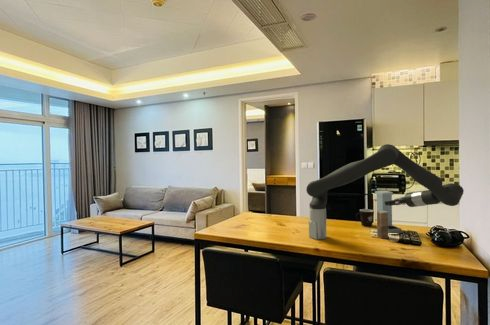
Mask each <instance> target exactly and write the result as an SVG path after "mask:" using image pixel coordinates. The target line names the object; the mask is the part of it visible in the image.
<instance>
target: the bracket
mask: <svg viewBox="0 0 490 325" xmlns="http://www.w3.org/2000/svg"><path fill="white" fill-rule="evenodd" d="M388 233H403V232H402V228H401V227H397V226H396V225H393V224H392V226H388Z"/></svg>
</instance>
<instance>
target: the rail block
mask: <svg viewBox="0 0 490 325" xmlns="http://www.w3.org/2000/svg"><path fill="white" fill-rule="evenodd" d="M376 232H377V233H376V236H377V237H378V238H380V239H388V238H389V234H388V212H387V211H384V210H379V211H377V210H376Z"/></svg>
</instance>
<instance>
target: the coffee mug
mask: <svg viewBox="0 0 490 325" xmlns="http://www.w3.org/2000/svg"><path fill="white" fill-rule="evenodd" d="M374 214H375V210H374V209H368V208H363V209H359V212H357V213H356V214H355V218H356V220H358V221H360V224H361V226H362V227H365V228H366V227H367V228H370V227H371V228H372V227H373V223H374ZM358 215H359V218H360V219H359V218H358Z"/></svg>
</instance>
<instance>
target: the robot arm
mask: <svg viewBox="0 0 490 325" xmlns="http://www.w3.org/2000/svg"><path fill="white" fill-rule="evenodd" d="M392 165H394V166H396V167H398V168H399V169H401V170H402V171H404V172H405V173H406V174H407V175H408V176H409V177H410V178H411V179H412V180H414V181H415V182H416V183H418V184H419V185H421V186H422V187H424V188H425V189H427V190H417V191H410V192H406V193H405V194H404V196H402V197H398V198H397V197H396V198H394V199H392V200H390V201H385V205H389V206H392V207H393V206H401V205H402V206H405V205H407V206H408V207H409V208H414V207H415V208H416V207H425V206H430V205H431V206H432V205H437V204H440V203H442V204H444V205H446V206H450V207H455V206H457V205H459V203H460V201H461V199H462V197H463V195H464V188H463V187H462V186H461V184H459V183H458V184H457V183H446V184H443V179H442V178H441V177H439V176H438V175H436V174H435V173H433V172H431V171H430V170H428V169H426V168H424V167H423V166H421V165H420V164H418V163H417V162H415V161H414V160H412V159H410V158H409V157H408V156H406V154H404V153H403V152H402V151H401V150H400V149H399V148H397V147H396V146H395V145H393V144H389V143H388V144H386V143H385V144H383V145H382V146H380V147H379V148H378V150H377V151H376V152H375V153H373V154H371V155H370V156H367V157H366V158H364V159H361V160H357V161H353V162H350V163H348V164H345V165H343V166H341V167H339V168H338V169H336V170H334V171H332V172H331V173H329V174H327V175H325V176H324V177H322V178H318V179H316V180H313V181H311V182H309V183H308V184H307V186H306V193H307V194H308V195H309V196H310V197H311V201H310V202H309V220H308V236H309V238H311V239H314V240H325V239H327V231H328V230H327V207H326V206H327V205H328V204H327V203H328V191H329V190H331V189H335V188H338V187H342V186H346V185H347V184H350V183H352V182H354V181H356V180H359V179H361V178H363V177H365V176H366V175H369V174H370V173H373V172H375V171H379V170H381V169H385V168H387V167H390V166H392Z"/></svg>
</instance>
